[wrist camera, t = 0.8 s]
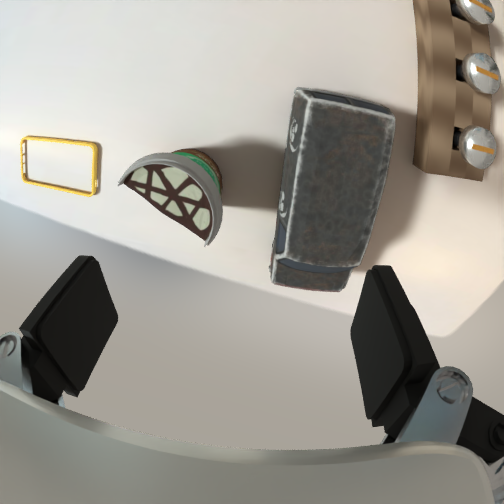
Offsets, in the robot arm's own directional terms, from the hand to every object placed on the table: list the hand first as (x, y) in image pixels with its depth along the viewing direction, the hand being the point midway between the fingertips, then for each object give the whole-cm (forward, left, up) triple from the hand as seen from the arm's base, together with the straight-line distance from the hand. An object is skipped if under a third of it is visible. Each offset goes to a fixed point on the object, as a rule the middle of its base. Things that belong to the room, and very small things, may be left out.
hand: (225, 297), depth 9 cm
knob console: (-12, +25, -28) cm, 39 cm away
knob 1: (-21, +25, -25) cm, 41 cm away
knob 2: (-3, +25, -25) cm, 35 cm away
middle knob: (-12, +25, -25) cm, 37 cm away
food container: (+3, -8, -28) cm, 29 cm away
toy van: (+6, +7, -28) cm, 30 cm away
